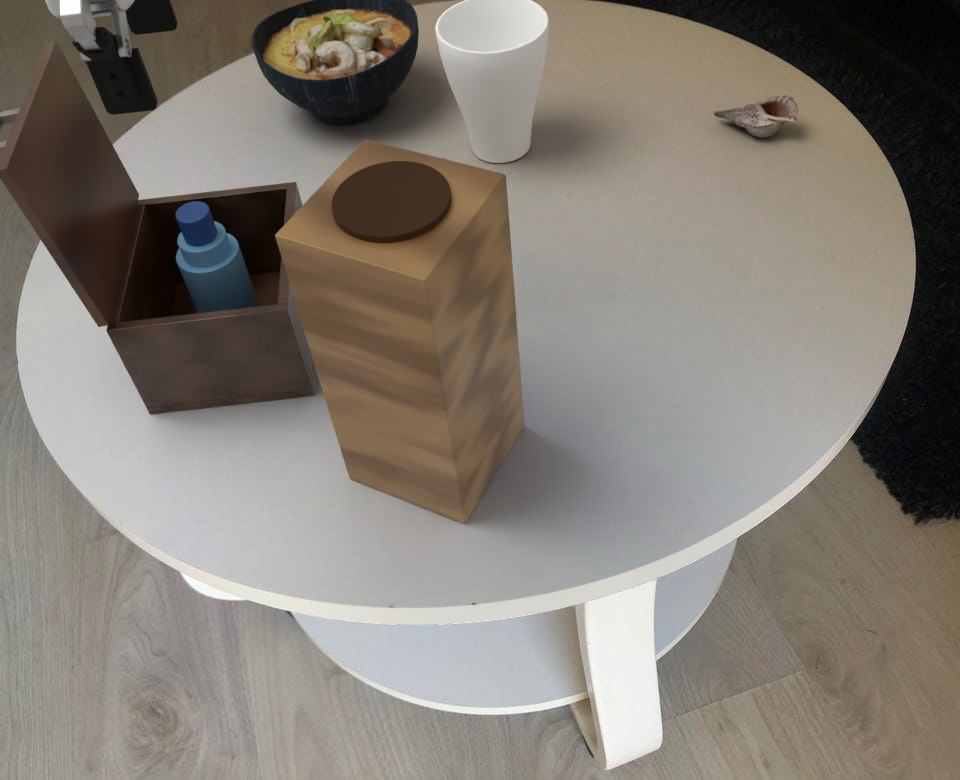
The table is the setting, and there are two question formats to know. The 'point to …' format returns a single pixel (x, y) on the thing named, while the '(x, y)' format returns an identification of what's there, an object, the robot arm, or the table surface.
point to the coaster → (391, 201)
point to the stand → (414, 336)
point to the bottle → (211, 262)
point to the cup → (495, 71)
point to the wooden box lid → (70, 182)
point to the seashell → (763, 115)
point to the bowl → (338, 55)
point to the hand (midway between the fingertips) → (145, 68)
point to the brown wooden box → (211, 335)
